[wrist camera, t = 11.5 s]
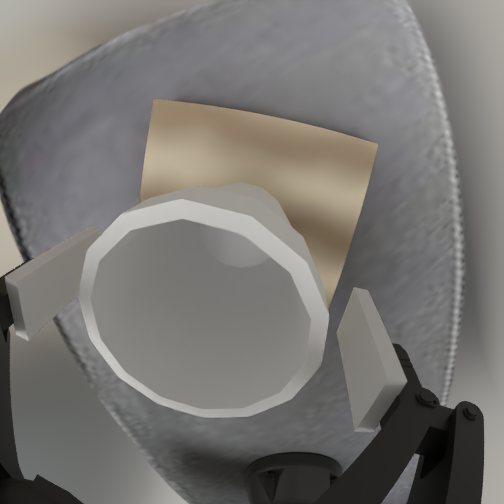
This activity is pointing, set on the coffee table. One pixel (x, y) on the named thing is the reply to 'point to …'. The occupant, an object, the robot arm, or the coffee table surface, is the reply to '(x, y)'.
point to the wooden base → (266, 170)
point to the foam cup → (206, 301)
